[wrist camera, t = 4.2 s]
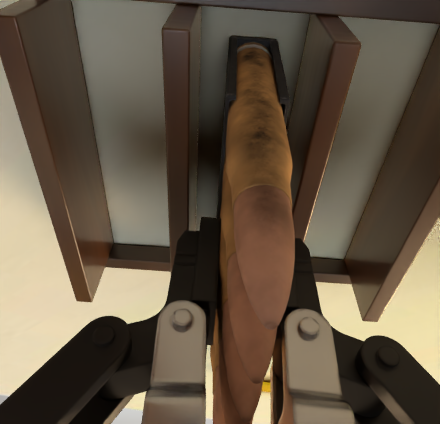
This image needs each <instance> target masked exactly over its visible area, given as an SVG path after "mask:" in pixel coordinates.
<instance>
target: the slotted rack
mask: <svg viewBox="0 0 440 424" xmlns="http://www.w3.org/2000/svg"><path fill="white" fill-rule="evenodd" d="M133 1H147V2H160V3H173V4H176V6H175V8H174V9H173V11H172V13H171V14H170V16H169V18H168V19H167V21H166V23H165V24H164V26H163V28H162V53H163V79H164V105H165V131H166V157H167V183H168V209H169V236H170V248H164V247H150V246H136V245H122V244H113V238H112V232H111V226H110V221H109V215H108V210H107V204H106V198H105V193H104V187H103V181H102V176H101V170H100V164H99V159H98V153H97V147H96V142H95V136H94V130H93V125H92V119H91V113H90V108H89V102H88V97H87V91H86V85H85V80H84V74H83V68H82V63H81V57H80V51H79V46H78V40H77V34H76V29H75V23H74V17H73V12H72V6H71V1H70V0H19V1H17V2H15V3H13V4H10V5H8V6H6V7H4V8H2V9H0V57H1V60H2V63H3V67H4V70H5V73H6V76H7V79H8V83H9V86H10V89H11V92H12V95H13V99H14V102H15V105H16V108H17V112H18V115H19V118H20V121H21V124H22V128H23V131H24V134H25V137H26V140H27V144H28V147H29V150H30V153H31V156H32V160H33V163H34V166H35V169H36V172H37V176H38V179H39V182H40V185H41V188H42V192H43V195H44V198H45V201H46V204H47V208H48V211H49V214H50V217H51V220H52V224H53V227H54V230H55V233H56V236H57V240H58V243H59V246H60V249H61V252H62V256H63V259H64V262H65V265H66V268H67V272H68V275H69V278H70V281H71V285H72V288H73V291H74V294H75V297H76V301H81V302H92V301H93V298H94V295H95V293H96V290H97V287H98V284H99V282H100V279H101V276H102V273H103V271H104V268H105V267H112V268H126V269H141V270H155V271H169V272H171V274H172V268H173V264H174V257H175V252H176V246H177V241H178V239H179V238H180V236H181V235H182V234H183V233H184V231H185V230H189V231H196V204H197V164H198V124H199V84H200V44H201V6H212V7H225V8H238V9H251V10H264V11H277V12H290V13H303V14H311V16H310V21H309V26H308V31H307V36H306V41H305V46H304V51H303V56H302V61H301V66H300V72H299V77H298V82H297V87H296V92H295V97H294V102H293V107H292V112H291V117H290V122H289V127H288V132H287V137H288V142H289V147H290V152H291V158H292V165H293V167H292V174H291V181H290V189H291V199H292V208H291V211H292V218H293V225H294V235H295V238H301V239H302V241H303V242H304V241H305V237H306V234H307V230H308V227H309V224H310V220H311V217H312V213H313V210H314V206H315V203H316V200H317V196H318V193H319V189H320V186H321V182H322V179H323V176H324V172H325V169H326V165H327V162H328V158H329V155H330V152H331V148H332V145H333V141H334V138H335V134H336V131H337V128H338V124H339V121H340V117H341V114H342V110H343V107H344V104H345V100H346V97H347V93H348V90H349V86H350V83H351V80H352V76H353V73H354V69H355V66H356V62H357V59H358V56H359V52H360V49H361V42H360V41H359V40H358V39H357V38H356V36H355V35H354V34H353V33H352V32H351V31H350V29H349V28H348V27H347V26H346V25H345V24H344V22H343V21H342V20H341V19H340V18H339V17H338V16H342V17H355V18H369V19H382V20H395V21H408V22H421V23H434V24H440V0H133ZM439 217H440V27H439V30H438V32H437V35H436V37H435V40H434V42H433V44H432V47H431V49H430V52H429V54H428V57H427V59H426V62H425V64H424V66H423V69H422V71H421V74H420V76H419V79H418V81H417V84H416V86H415V88H414V91H413V93H412V96H411V98H410V101H409V103H408V106H407V108H406V110H405V113H404V115H403V118H402V120H401V123H400V125H399V128H398V130H397V132H396V135H395V137H394V140H393V142H392V145H391V147H390V150H389V152H388V155H387V157H386V159H385V162H384V164H383V167H382V169H381V172H380V174H379V177H378V179H377V181H376V184H375V186H374V189H373V191H372V194H371V196H370V199H369V201H368V203H367V206H366V208H365V211H364V213H363V216H362V218H361V221H360V223H359V225H358V228H357V230H356V233H355V235H354V238H353V240H352V243H351V245H350V247H349V250H348V252H347V255H346V257H345V260H335V259H320V258H311V264H312V267H313V274H314V277H315V282H327V283H341V284H352V287H353V290H354V294H355V297H356V300H357V304H358V307H359V311H360V314H361V317H362V320H363V321H371V322H378V320H379V319H380V317H381V315H382V314H383V312H384V310H385V309H386V307H387V305H388V303H389V302H390V300H391V298H392V297H393V295H394V293H395V292H396V290H397V288H398V286H399V285H400V283H401V281H402V280H403V278H404V276H405V275H406V273H407V271H408V269H409V268H410V266H411V264H412V263H413V261H414V259H415V257H416V256H417V254H418V252H419V251H420V249H421V247H422V246H423V244H424V242H425V240H426V239H427V237H428V235H429V234H430V232H431V230H432V229H433V227H434V225H435V223H436V222H437V220H438V218H439Z"/></svg>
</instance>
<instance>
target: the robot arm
mask: <svg viewBox="0 0 440 424" xmlns="http://www.w3.org/2000/svg"><path fill="white" fill-rule="evenodd" d="M220 233H221V218H211V217H201V222H200V231H189V230H185V231H184V233H183V234H182V235H181V236H180V238H179V239H178V241H177V246H176V252H175V257H174V264H173V268H172V274H171V280H170V285H169V291H168V296H167V301H166V303H165V306H164V307H163V309H162V310H161V311H160V312H159V313H158V314H156V315H155V316H153V317H151V318H149V319H147V320H143V321H139V322H135V323H130V324H127V323H126V322H125V321H124V320H122V319H120V318H118V317H114V316H104V317H100V318H97V319H95V320H93V321H91V322H90V323H89V324H87V325H86V326H85V327H84V328H83V329H82V330H81V331H80V332H79V333H78V334H76V335H75V336H74V337H73V338H72V339H71V340H70V341H69V342H68V343H67V344H66V345H65V346H63V347H62V348H61V349H60V350H59V351H58V352H57V353H56V354H55V355H54V356H53V357H52V358H50V359H49V360H48V361H47V362H46V363H45V364H44V365H43V366H42V367H41V368H40V369H39V370H37V371H36V372H35V373H34V374H33V375H32V376H31V377H30V378H29V379H28V380H27V381H26V382H24V383H23V384H22V385H21V386H20V387H19V388H18V389H17V390H16V391H15V392H14V393H13V394H11V395H10V396H9V397H8V398H7V399H6V400H5V401H4V402H3V403H2V404H1V405H0V424H111V423H112V422H113V420H114V419H115V418H116V417H117V415H118V414H119V413H120V412H121V411H122V409H123V408H124V407H125V406H126V405H127V403H128V402H129V401H130V400H131V399H132V397H133V396H134V395H135V394H138V393H141V392H145V391H146V396H145V401H144V409H143V416H142V423H141V424H205V419H206V389H205V368H206V350H207V345H213V337H214V326H215V315H216V304H217V287H218V269H219V251H220ZM272 358H273V362H272V365H271V370H270V389H271V424H440V385H439V384H438V382H437V381H436V380H435V379H434V378H433V377H432V376H431V375H430V374H429V373H428V372H427V371H426V370H425V369H424V368H423V367H422V366H421V365H420V364H419V363H418V362H417V361H416V360H415V359H414V358H413V357H412V355H411V354H410V353H409V352H408V351H407V350H406V349H405V348H404V347H403V346H402V345H401V344H399V343H398V342H396V341H395V340H393V339H391V338H388V337H385V336H371V337H369V338H367V339H366V340H365V341H361V340H358V339H356V338H353V337H350V336H348V335H345V334H343V333H340V332H339V331H337V330H336V329H334V328H333V327H332V326H331V325H330V324H329V322H328V321H327V320H326V319H325V318H324V316H323V314H322V312H321V308H320V303H319V297H318V292H317V287H316V282H315V277H314V274H313V267H312V264H311V257H310V252H309V249H308V248H307V246H306V245H305V243H304V242H303V241H302V239H301V238H295V261H294V272H293V279H292V285H291V290H290V296H289V300H288V303H287V306H286V310H285V312H284V315H283V317H282V320H281V322H280V323H279V325H278V326H277V333H276V339H275V344H274V349H273V354H272Z"/></svg>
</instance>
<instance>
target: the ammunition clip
mask: <svg viewBox="0 0 440 424" xmlns="http://www.w3.org/2000/svg"><path fill="white" fill-rule="evenodd" d="M289 106H290V97H289V93H288V88H287V84H286V79H285V74H284V70H283V65H282V60H281V56H280V51H279V46H278V42H277V40H276V39H266V38H252V37H239V36H231V37H230V38H229V50H228V64H227V78H226V92H225V106H224V120H223V134H222V148H221V162H220V176H219V190H218V204H217V218H221V233H220V251H219V269H218V287H217V304H216V315H215V326H214V337H213V345H211V349H210V356H211V364H212V371H213V424H252V421H253V416H254V413H255V410H256V408H257V405H258V402H259V398H260V395H261V390H262V385H263V380H264V377H265V375H266V372H267V370H268V367H269V364H270V361H271V357H272V354H273V349H274V344H275V339H276V333H277V326H278V325H279V323H280V322H281V320H282V317H283V315H284V312H285V310H286V306H287V303H288V300H289V296H290V290H291V285H292V279H293V272H294V261H295V235H294V225H293V218H292V211H291V208H292V199H291V189H290V181H291V174H292V167H293V165H292V158H291V152H290V147H289V142H288V137H287V132H286V121H287V116H288V111H289Z"/></svg>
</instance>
